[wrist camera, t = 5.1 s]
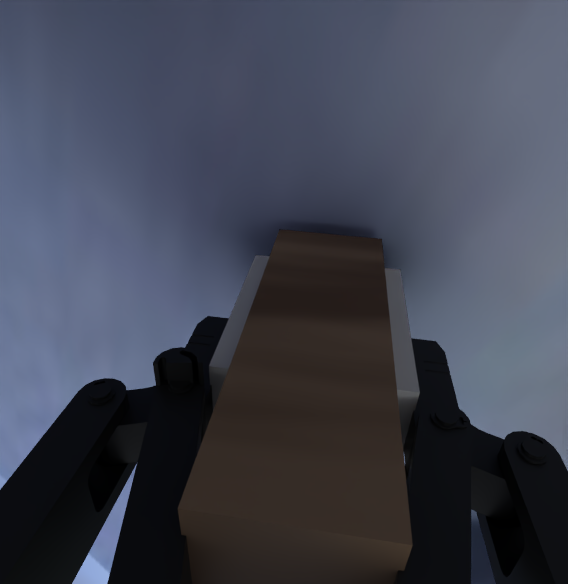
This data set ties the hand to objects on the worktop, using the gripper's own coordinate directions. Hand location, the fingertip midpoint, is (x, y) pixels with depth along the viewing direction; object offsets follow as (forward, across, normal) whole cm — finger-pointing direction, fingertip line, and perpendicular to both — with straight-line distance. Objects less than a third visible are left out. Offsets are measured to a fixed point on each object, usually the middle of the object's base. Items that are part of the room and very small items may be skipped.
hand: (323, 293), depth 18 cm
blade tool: (+1, 0, -8) cm, 8 cm away
